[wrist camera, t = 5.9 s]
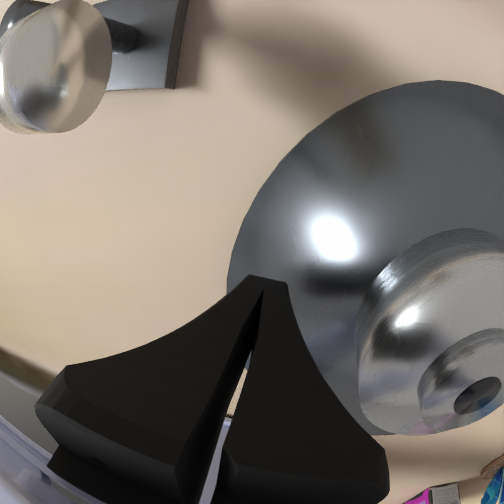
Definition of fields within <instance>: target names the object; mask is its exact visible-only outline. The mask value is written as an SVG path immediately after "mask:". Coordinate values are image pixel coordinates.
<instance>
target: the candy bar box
mask: <svg viewBox="0 0 504 504" xmlns="http://www.w3.org/2000/svg"><path fill="white" fill-rule="evenodd" d="M404 504H461V503H460V496H459V488H458V483H450V484H446V485H440V486H435V487H430V488H427V489H426V490H424V491H423V492H421V493H420V494H418V495H417V496H415V497H413V498H412V499H410V500H408V501H407V502H405V503H404Z"/></svg>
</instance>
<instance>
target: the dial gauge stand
mask: <svg viewBox="0 0 504 504" xmlns="http://www.w3.org/2000/svg"><path fill="white" fill-rule="evenodd" d="M188 1H189V0H108V1H104V2H100V3H97V4H94V5H93V6H92V5H91V4H89V3H88V2H85V1H83V0H61V1H58V2H55V3H53V4H50V3H45V2H39V1H33V0H16V1H15V2H14V3H13V4H12V5H11V6H10V7H9V8H8V10H7V11H6V13H5V15H4V17H3V19H2V22H1V25H0V123H1V124H2V125H3V126H5V127H6V128H7V129H9V130H11V131H13V132H15V133H19V134H42V133H60V132H66V131H70V130H72V129H74V128H76V127H78V126H79V125H81V124H82V123H84V122H85V121H86V120H87V119H88V118H89V117H90V116H91V115H92V113H93V112H94V111H95V109H96V108H97V106H98V105H99V103H100V101H101V99H102V97H103V95H104V93H105V91H117V90H138V89H174V88H175V80H176V72H177V65H178V58H179V51H180V45H181V38H182V32H183V27H184V21H185V16H186V11H187V5H188Z"/></svg>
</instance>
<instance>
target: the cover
mask: <svg viewBox="0 0 504 504" xmlns="http://www.w3.org/2000/svg"><path fill="white" fill-rule="evenodd" d="M354 341H355V350H356V360H357V372H358V385H359V398H360V405H361V408H362V411H363V413H364V414H365V416H366V417H367V419H368V420H369V421H370V422H372V423H373V424H374V425H375V426H377V427H379V428H380V429H383V430H385V431H388V432H391V433H395V434H401V435H427V434H434V433H439V432H443V431H447V430H450V429H454V428H459V427H462V426H465V425H468V424H471V423H473V422H475V421H477V420H479V419H481V418H483V417H485V416H487V415H488V414H490V413H491V412H493V411H494V410H495V409H497V408H498V407H499V406H501V405H502V404H503V403H504V241H503V240H502V239H500V238H499V237H497V236H496V235H494V234H492V233H490V232H487V231H484V230H480V229H476V228H459V229H451V230H447V231H443V232H440V233H437V234H434V235H432V236H429V237H427V238H425V239H423V240H421V241H419V242H418V243H416V244H414V245H412V246H411V247H410V248H408V249H407V250H405V251H404V252H402V253H401V254H400V255H399V256H397V257H396V258H395V259H394V260H393V261H392V262H390V263H389V264H388V265H387V267H386V268H385V269H384V270H383V271H382V272H381V273H380V274H379V275H378V277H377V278H376V279H375V281H374V282H373V283H372V284H371V286H370V288H369V289H368V291H367V293H366V294H365V296H364V298H363V300H362V302H361V305H360V307H359V310H358V313H357V316H356V321H355V327H354Z"/></svg>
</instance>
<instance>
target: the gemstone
mask: <svg viewBox="0 0 504 504" xmlns="http://www.w3.org/2000/svg"><path fill="white" fill-rule="evenodd" d="M502 475H503V477H502ZM481 478H482V479H489V478H493V479H492V481H491V482H490V484H489V485H488V487H487V489H486V491H485V494H484V496H483V498H482V500H481V504H496V502H497V500H498V498H499V494H500V498H499V504H504V454H503V455H502V456H500V457H498V458H497V459H495V460H494V461H492V462H491V463H490V464H488V465H487V466H486V467H485V468H484V469H483V470H482V472H481ZM501 484H502V485H501ZM500 488H501V492H500Z"/></svg>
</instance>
